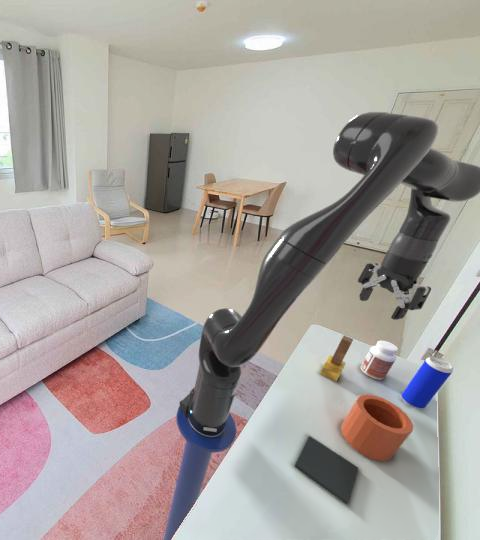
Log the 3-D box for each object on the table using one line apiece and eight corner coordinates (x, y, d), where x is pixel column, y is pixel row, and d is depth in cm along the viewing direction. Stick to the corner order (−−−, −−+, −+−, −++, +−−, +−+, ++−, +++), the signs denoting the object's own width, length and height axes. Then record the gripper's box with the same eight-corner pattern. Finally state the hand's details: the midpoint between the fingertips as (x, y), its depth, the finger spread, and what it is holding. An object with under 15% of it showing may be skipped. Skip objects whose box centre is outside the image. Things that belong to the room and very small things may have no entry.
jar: (336, 438, 72) (352, 411, 68) (346, 413, 79) (361, 387, 74) (388, 470, 66) (410, 443, 61) (394, 441, 72) (415, 414, 68)
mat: (294, 466, 66) (295, 464, 66) (308, 437, 72) (309, 435, 72) (346, 504, 60) (347, 502, 59) (357, 468, 66) (358, 467, 66)
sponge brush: (319, 373, 91) (336, 338, 85) (323, 366, 94) (340, 332, 88) (336, 382, 88) (355, 346, 82) (339, 374, 91) (358, 339, 85)
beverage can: (425, 402, 83) (454, 363, 76) (423, 413, 80) (455, 373, 73) (401, 391, 86) (428, 352, 79) (399, 401, 83) (427, 362, 76)
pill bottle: (389, 378, 90) (407, 351, 85) (373, 381, 89) (390, 354, 84) (370, 364, 96) (385, 337, 91) (355, 366, 94) (369, 339, 89)
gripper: (367, 242, 75) (343, 296, 83) (431, 267, 63) (395, 327, 70) (390, 241, 77) (364, 293, 84) (456, 265, 65) (419, 324, 72)
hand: (378, 309), depth 77 cm, fingers open, 8 cm apart
